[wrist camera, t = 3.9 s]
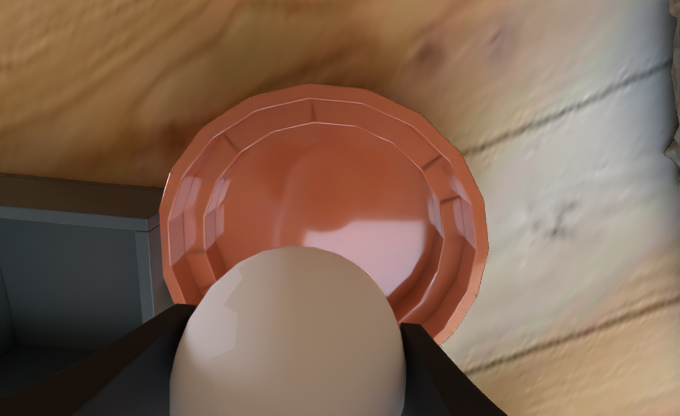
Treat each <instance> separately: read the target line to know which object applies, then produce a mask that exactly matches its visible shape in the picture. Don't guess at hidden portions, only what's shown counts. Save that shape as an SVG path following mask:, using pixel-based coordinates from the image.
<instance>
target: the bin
mask: <svg viewBox="0 0 680 416" xmlns="http://www.w3.org/2000/svg"><path fill="white" fill-rule="evenodd" d="M163 193H164V189H162V188H151V187H141V186H130V185H119V184H109V183H98V182H87V181H77V180H66V179H55V178H45V177H34V176H23V175H13V174H2V173H0V399H1V398H4V397H6V396H8V395H11V394H13V393H15V392H18V391H20V390H23V389H25V388H27V387H29V386H31V385H33V384H36V383H38V382H40V381H42V380H44V379H46V378H48V377H50V376H52V375H54V374H56V373H58V372H60V371H62V370H64V369H66V368H68V367H70V366H72V365H74V364H76V363H78V362H79V361H81V360H83V359H85V358H86V357H88V356H90V355H92V354H93V353H95V352H97V351H99V350H100V349H102V348H104V347H106V346H107V345H109V344H111V343H113V342H115V341H116V340H118V339H120V338H121V337H123V336H124V335H126V334H128V333H129V332H131V331H132V330H134V329H136V328H137V327H139V326H141V325H142V324H144V323H145V322H147V321H148V320H150V319H152V318H153V317H155V316H156V315H158V314H160V313H161V312H163V311H164V310H166V309H168V308H169V307H171V306H173V305H174V302H173V300H172V297H171V295H170V293H169V290H168V288H167V285H166V283H165V281H164V278H163V265H162V249H161V233H160V224H159V223H160V217H159V211H158V210H159V206H160V203H161V200H162V196H163Z"/></svg>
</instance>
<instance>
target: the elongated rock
mask: <svg viewBox="0 0 680 416" xmlns="http://www.w3.org/2000/svg"><path fill="white" fill-rule="evenodd" d="M669 11H670V14H671V16H673V17H676V18H677V27H676V32H675V35H674V42H673V62H672V64H673V67H672V68H671V80H672V81H673V82H674V89H673V91H674V94H675V95H676V97H675V100H676V104H675V110H676V111H677V112H678V113H677V115H678V119H679V125H680V0H670V1H669ZM664 156H666V157H669V158H670V159H672V160H673V161H674V162H675V163H676V164H677V165H678V166H679V168H680V126H679V127H678V129H677V131H676V134H675V136H674V142H672V143H671V144H670V146H669V147H668V148H667V150H666V151H665V152H664ZM678 186H680V180H679V182H678Z"/></svg>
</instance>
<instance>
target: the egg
mask: <svg viewBox="0 0 680 416" xmlns="http://www.w3.org/2000/svg"><path fill="white" fill-rule="evenodd" d="M405 389H406V360H405V354H404V347H403V341H402V335H401V332H400V329H399V326H398V324H397V321H396V318H395V315H394V313H393V310H392V308H391V306H390V305H389V303H388V301H387V299H386V297H385V295H384V293H383V291H382V290H381V288H380V287H379V286H378V285H377V284H376V283H375V281H374V280H373V279H372V278H371V277H370V275H369V274H367V273H366V272H365V271H364V270H362V269H361V268H360V267H359V266H358V265H356V264H355V263H353V262H351V261H350V260H348V259H346V258H344V257H342V256H341V255H339V254H336V253H333V252H329V251H326V250H323V249H319V248H316V247H302V246H286V247H281V248H276V249H271V250H266V251H262V252H260V253H258V254H256V255H254V256H252V257H250V258H248V259H245V260H243V261H241V262H239V263H237V264H236V265H235V266H234V267H233V268H232V269H231V270H229V271H228V272H227V273H226V274H225V275H224V276H223V277H221V278H220V279H219V280H218V281H217V282H216V283H215V284H213V285H212V286H211V287H210V289H209V290H208V292H207V293H206V295H205V296H204V298H203V299H202V301H201V302H200V304H199V305H198V307H197V308H196V310H195V311H194V313H193V314H192V316H191V317H190V319H189V321H188V323H187V326H186V328H185V330H184V333H183V335H182V337H181V340H180V342H179V345H178V348H177V351H176V355H175V358H174V363H173V368H172V372H171V377H170V416H401V413H402V410H403V407H404V398H405Z"/></svg>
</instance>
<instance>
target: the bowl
mask: <svg viewBox="0 0 680 416" xmlns="http://www.w3.org/2000/svg"><path fill="white" fill-rule="evenodd" d="M158 211H159V217H160V223H159V224H160V233H161V249H162V265H163V278H164V281H165V283H166V285H167V288H168V290H169V293H170V295H171V297H172V300H173V302H174V305H175V304H176V303H179V304H191V305H196V308H197V307H198V305H199V304H200V302H201V301H202V299H203V298H204V296H205V295H206V293H207V292H208V290H209V289H210V287H211V286H212V285H213V284H215V283H216V282H217V281H218V280H219V279H220V278H221V277H223V276H224V275H225V274H226V273H227V272H228V271H229V270H231V269H232V268H233V267H234V266H235V265H236V264H237V263H239V262H241V261H243V260H245V259H248V258H250V257H252V256H254V255H256V254H258V253H260V252H262V251H266V250H271V249H276V248H281V247H286V246H302V247H316V248H319V249H323V250H326V251H329V252H333V253H336V254H339V255H341V256H342V257H344V258H346V259H348V260H350V261H351V262H353V263H355V264H356V265H358V266H359V267H360V268H361V269H362V270H364V271H365V272H366V273H367V274H369V275H370V277H371V278H372V279H373V280H374V281H375V283H376V284H377V285H378V286H379V287H380V288H381V290H382V291H383V293H384V295H385V297H386V299H387V301H388V303H389V305H390V306H391V308H392V310H393V313H394V315H395V318H396V321H397V324H398V326H399V329H400V325H401V322H403V323H415V324H421V326H422V327H423V328H424V329H425V330H426V331H427V332H428V334H429V335H430V336H431V337H432V338H433V340H434V341H435V342H436V343H437V344H438V345H441V344H442V343H443V342H444V341H445V340H446V339H448V338H449V337H450V336H451V335H452V334H453V333H454V332H455V330H456V329H457V327H458V326H459V324H460V322H461V321H462V319H463V318H464V316H465V315H466V313H467V311H468V310H469V308H470V307H471V305H472V303H473V302H474V300H475V299H476V297H477V294H478V291H479V287H480V283H481V279H482V275H483V271H484V267H485V263H486V259H487V255H488V249H489V244H488V234H487V224H486V214H485V205H484V200H483V197H482V195H481V193H480V191H479V189H478V187H477V185H476V183H475V181H474V178H473V176H472V174H471V172H470V170H469V168H468V166H467V164H466V162H465V160H464V158H463V156H462V154H461V153H460V151H459V150H458V149H457V148H456V147H455V146H453V145H452V144H451V143H450V142H449V141H448V140H447V139H446V138H445V137H444V136H443V135H442V134H441V133H440V132H439V131H438V130H437V129H436V128H435V127H434V126H433V125H432V124H431V123H430V122H429V121H428V120H427V119H426V118H425V117H424V116H423V115H421V114H420V113H418V112H416V111H414V110H412V109H410V108H407V107H405V106H403V105H401V104H399V103H397V102H395V101H392V100H390V99H388V98H386V97H384V96H382V95H379V94H377V93H375V92H373V91H371V90H367V89H363V88H353V87H343V86H333V85H324V84H314V83H308V84H307V83H305V84H301V85H297V86H292V87H288V88H284V89H280V90H275V91H271V92H267V93H263V94H258V95H254V96H251V97H248V98H247V99H245V100H244V101H242V102H241V103H239V104H238V105H236V106H234V107H233V108H231V109H230V110H228V111H227V112H225V113H224V114H222V115H221V116H219V117H217V118H216V119H214V120H213V121H211V122H210V123H208V124H207V125H205V126H204V127H203V128H202V129H201V130H200V131H199V132H198V134H197V135H196V136H195V138H194V139H193V140H192V142H191V143H190V144H189V146H188V147H187V148H186V150H185V151H184V152H183V154H182V155H181V156H180V158H179V159H178V160H177V162H176V163H175V164H174V166H173V167H172V168H171V171H170V172H169V176H168V179H167V183H166V186H165V189H164V193H163V196H162V200H161V203H160V206H159V210H158Z"/></svg>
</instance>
